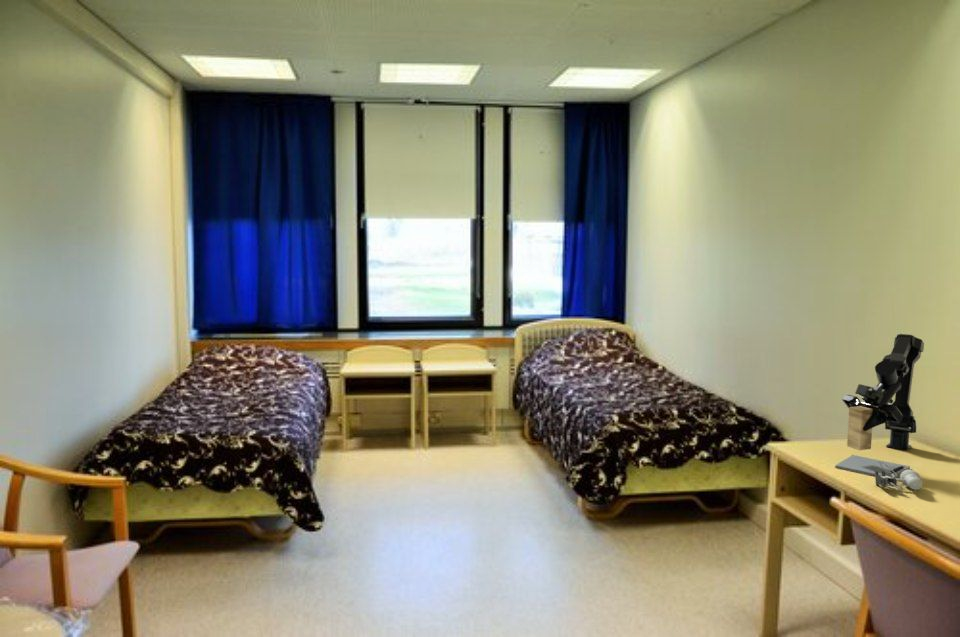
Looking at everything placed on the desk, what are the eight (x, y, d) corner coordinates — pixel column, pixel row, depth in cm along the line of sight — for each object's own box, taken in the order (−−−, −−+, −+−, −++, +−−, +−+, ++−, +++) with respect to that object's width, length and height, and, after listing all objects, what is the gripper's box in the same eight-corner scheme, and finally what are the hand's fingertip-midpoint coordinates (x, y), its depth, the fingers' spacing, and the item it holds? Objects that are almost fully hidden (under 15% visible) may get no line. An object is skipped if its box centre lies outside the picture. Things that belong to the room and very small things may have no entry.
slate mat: (852, 457, 235) (852, 454, 234) (909, 468, 222) (909, 466, 222) (835, 467, 223) (835, 465, 223) (894, 480, 211) (894, 478, 211)
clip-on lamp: (870, 478, 218) (879, 492, 201) (869, 458, 218) (878, 470, 201) (913, 480, 213) (927, 494, 196) (912, 459, 213) (926, 471, 197)
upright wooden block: (858, 444, 228) (860, 405, 226) (870, 448, 223) (873, 409, 222) (847, 446, 226) (849, 407, 224) (859, 450, 221) (861, 410, 220)
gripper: (847, 370, 232) (820, 405, 229) (898, 381, 215) (869, 419, 212) (864, 391, 236) (837, 426, 233) (915, 403, 218) (887, 441, 216)
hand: (856, 428), depth 223 cm, fingers closed on upright wooden block, 5 cm apart
